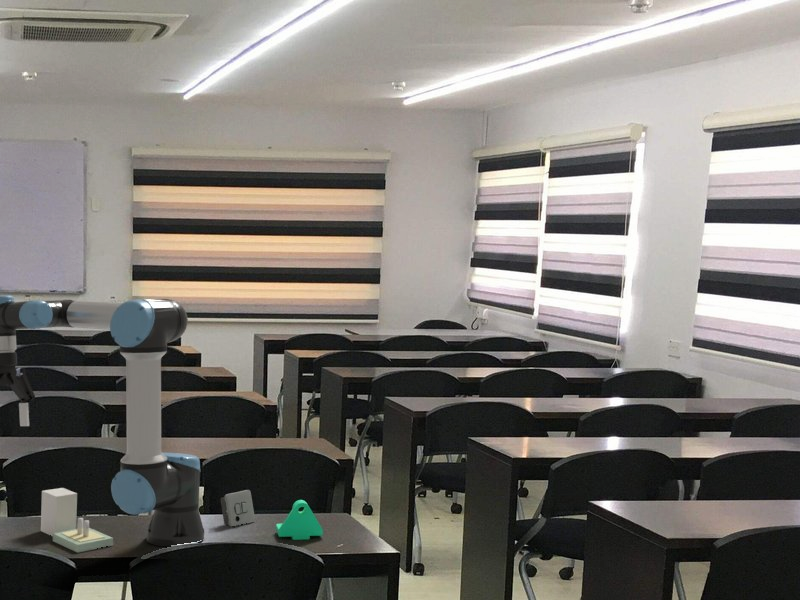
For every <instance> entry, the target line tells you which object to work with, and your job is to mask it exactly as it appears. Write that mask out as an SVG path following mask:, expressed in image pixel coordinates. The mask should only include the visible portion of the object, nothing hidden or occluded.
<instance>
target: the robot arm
mask: <svg viewBox="0 0 800 600" xmlns="http://www.w3.org/2000/svg"><path fill="white" fill-rule="evenodd" d="M188 320H189V319H188V314H187V311H186V310H185V308H184V307H183V305H182V304H181V303H179V302H177V301H176V300H174V299H170V298H149V299H146V298H145V299H144V298H143V299H142V298H139V299H133V300H132V299H131V300H128V301H124V302H108V301H107V302H103V301H85V300H76V299H75V300H74V299H61V300H60V299H59V300H57V299H56V300H38V299H37V300H27V301H15V297H14V296H13V295H0V387H5V386H8V387H9V388H11V390H12V391H13V393H14V394H15V395H16V397H17V398H18V399H19V400H20V402H19V403H18V410H19V413H18V414H19V415H18V416H19V426H20V427H30V415H29V414H30V413H31V408H30V407H31V406H30V405H31V404H30V403H32V402H33V400H35V399H36V394H35V393H34V391H33V388H32V386H31V384H30V382H29V379H28V377H27V374H26V368H25V367H16V366H17V365H18V354H17V351H16V350H17V347H18V346H17V332H16V330H30V329H31V330H39V329H46V328H76V329H77V328H79V329H91V330H92V329H93V330H107V331H110V334H111V337H112V338H113V339H114V343H116V344H117V345H119V353H120V355H121V356H122V357H123V358H124V359H125V363H126V365H125V373H126V374H125V376H126V381H125V382H126V383H125V384H126V385H125V386H126V387H125V388H126V389H125V390H126V393H125V394H126V397H125V399H126V401H125V402H126V411H125V412H126V453H125V454H124V456H122V458H121V459H120V471H118V472H117V473H116V474H115V476H114V477H112V481H111V486H110V490H111V496H112V498H113V501H114V502H115V504H116V505H117V506H118V507H119V508H120V510H122V511H123V513H126V514H129V515H135V516H137V515H140V514H141V515H142V514H147V513H150V512H152V511H153V513H152V515H151V519H150V523H149V525H148V527H147V530H146V541H147V542H148V543H149V544H152V545H154V546H158V547H159V546H160V547H165V546H171V545H177V544H184V543H191V542H197V541H200V540H203V539H204V540H205V528H204V526H203V522H202V517H201V515H200V514H201V513H200V511H199V510H200V509H199V508H200V506H199V505H200V504H199V502H200V484H201V483H200V482H201V481H200V478H201V461H200V458H199V457H198V456H197V455H194V454H187V453H181V452H180V453H176V452H163V451H162V357H163V356H165V354H167V353H168V348H167V347H168V343H172V342H175V341H177V340H178V339H180V338H181V337H182V336H183V334H185V332H186V330H187V327H188ZM204 540H203V541H204Z"/></svg>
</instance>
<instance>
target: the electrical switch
mask: <svg viewBox="0 0 800 600" xmlns="http://www.w3.org/2000/svg"><path fill="white" fill-rule="evenodd" d="M220 505H221V513H222V517H223V524H227V525H226V526H229V527H230V526H235V527H237V526H236V525H239V526H242V525H241V524H243V525H246V523H247V524H252V523H254V522H255V521H256V518H255V512H254V511H255V510H254V505H253V499H252V493H251V490H250V489H245V490H240V491H236V492H231V493H227V494H225V495H224V497H220Z"/></svg>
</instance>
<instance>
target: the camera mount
mask: <svg viewBox="0 0 800 600" xmlns="http://www.w3.org/2000/svg"><path fill="white" fill-rule="evenodd" d="M300 508H303V509H302V511H299V509H300ZM275 527H276V528H275V531H276V533H277V535H278V537H279V538H280V537H281V538H282V537H283V538H284V537H286V538H287V537H291V540H296V541H297V540H310V538H311V537H315V536H316V537H318V536H319V537H320V536H324V530H323V528H322V526H321V524H320V522H319V520H318V519H317V517H316V516H315V514H314V513H313V510H312V509H311V508H310V506H309V505H308V503H307V502H306V501H305V500H303V499H298V500H296V501H295V502H294V503H293V505H292V509H291V511H290V512H289V514H288V515H287V516H286V518H285V519H284V521H283V522H281V523H276V525H275ZM310 536H311V537H310Z"/></svg>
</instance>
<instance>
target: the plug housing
mask: <svg viewBox="0 0 800 600" xmlns="http://www.w3.org/2000/svg"><path fill="white" fill-rule="evenodd" d="M40 504H41V510H40V511H41V512H40V513H41V514H40V516H41V517H40V532H42V533H44V534H47V535H48V536H50V535H51V537H53V533H58V532H64V531H69V530H75V529H77V518H78V517H77V511H78V510H77V509H78V507H77V505H78V493H77V492H74V491H71V490H70V489H67V488H65V487H59V488H53V489H45V490H42V491H41V503H40Z"/></svg>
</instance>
